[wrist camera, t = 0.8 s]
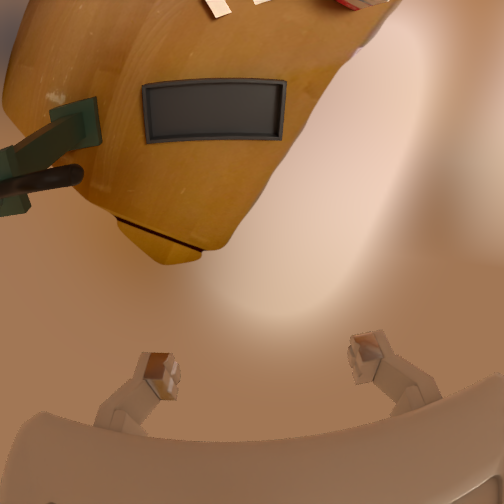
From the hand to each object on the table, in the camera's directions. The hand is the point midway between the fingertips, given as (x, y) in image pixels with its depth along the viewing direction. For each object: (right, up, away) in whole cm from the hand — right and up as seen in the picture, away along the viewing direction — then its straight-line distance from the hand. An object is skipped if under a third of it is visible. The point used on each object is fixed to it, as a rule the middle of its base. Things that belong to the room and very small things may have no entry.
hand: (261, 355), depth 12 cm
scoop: (-25, +12, +8) cm, 29 cm away
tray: (-7, +28, +28) cm, 40 cm away
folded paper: (-3, +46, +13) cm, 48 cm away
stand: (-32, +28, +26) cm, 50 cm away
